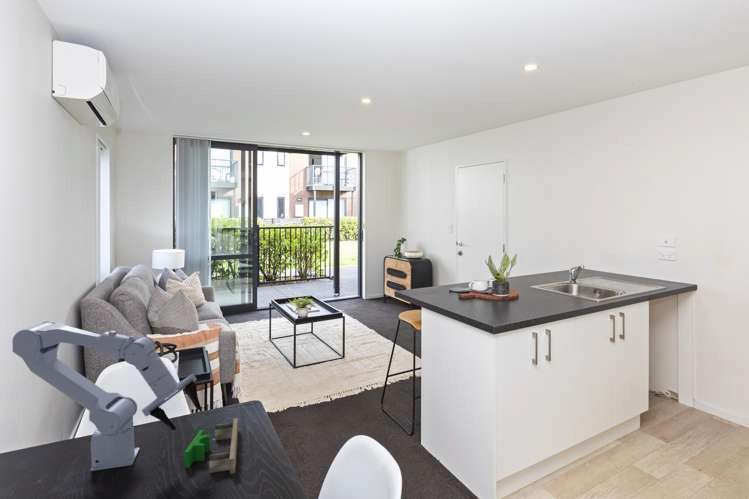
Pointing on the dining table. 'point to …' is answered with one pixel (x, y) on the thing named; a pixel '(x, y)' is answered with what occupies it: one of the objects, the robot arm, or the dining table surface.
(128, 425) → the robot arm
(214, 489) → the dining table surface
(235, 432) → the wooden drawer handle
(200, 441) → the pipe clamp
